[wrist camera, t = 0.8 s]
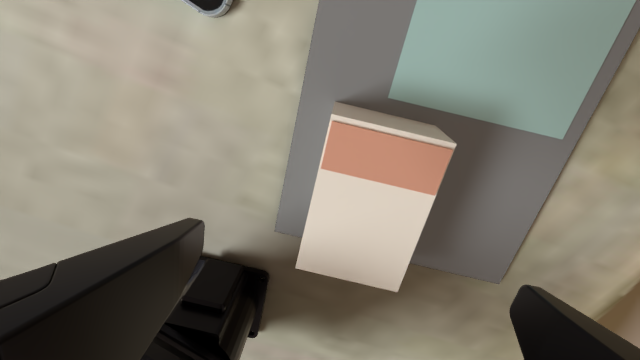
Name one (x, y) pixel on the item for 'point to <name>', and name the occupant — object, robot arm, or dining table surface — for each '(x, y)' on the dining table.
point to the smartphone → (210, 6)
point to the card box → (372, 196)
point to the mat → (464, 106)
